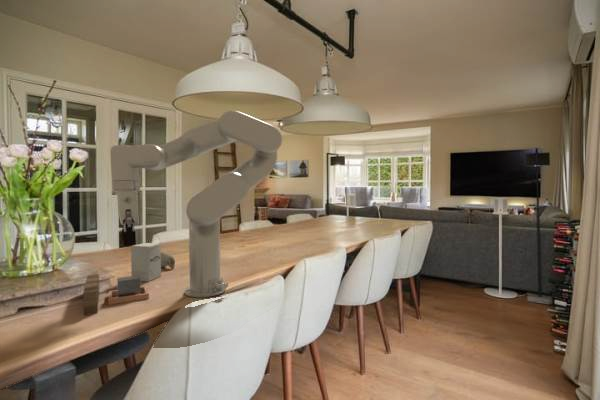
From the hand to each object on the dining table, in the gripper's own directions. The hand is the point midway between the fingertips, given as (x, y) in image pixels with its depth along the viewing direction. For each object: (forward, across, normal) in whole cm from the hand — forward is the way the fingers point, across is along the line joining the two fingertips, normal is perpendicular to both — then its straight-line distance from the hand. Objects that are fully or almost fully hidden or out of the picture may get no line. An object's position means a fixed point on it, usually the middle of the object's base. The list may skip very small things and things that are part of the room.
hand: (129, 242), depth 103 cm
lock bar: (+17, 0, +1) cm, 17 cm away
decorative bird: (+17, +36, -13) cm, 42 cm away
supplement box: (+17, +20, -6) cm, 27 cm away
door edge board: (+16, 0, +10) cm, 19 cm away
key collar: (+17, 0, +1) cm, 17 cm away
